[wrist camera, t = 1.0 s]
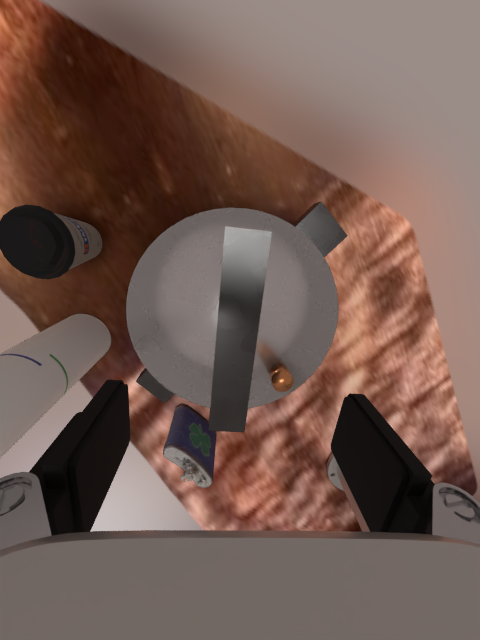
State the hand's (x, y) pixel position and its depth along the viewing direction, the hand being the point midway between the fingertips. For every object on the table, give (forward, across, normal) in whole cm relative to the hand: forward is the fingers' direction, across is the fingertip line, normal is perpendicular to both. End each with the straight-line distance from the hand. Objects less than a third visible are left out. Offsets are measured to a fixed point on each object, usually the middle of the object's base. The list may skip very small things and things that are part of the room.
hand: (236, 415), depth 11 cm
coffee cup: (+27, +19, -4) cm, 33 cm away
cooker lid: (+14, 0, 0) cm, 14 cm away
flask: (+26, +3, +24) cm, 35 cm away
